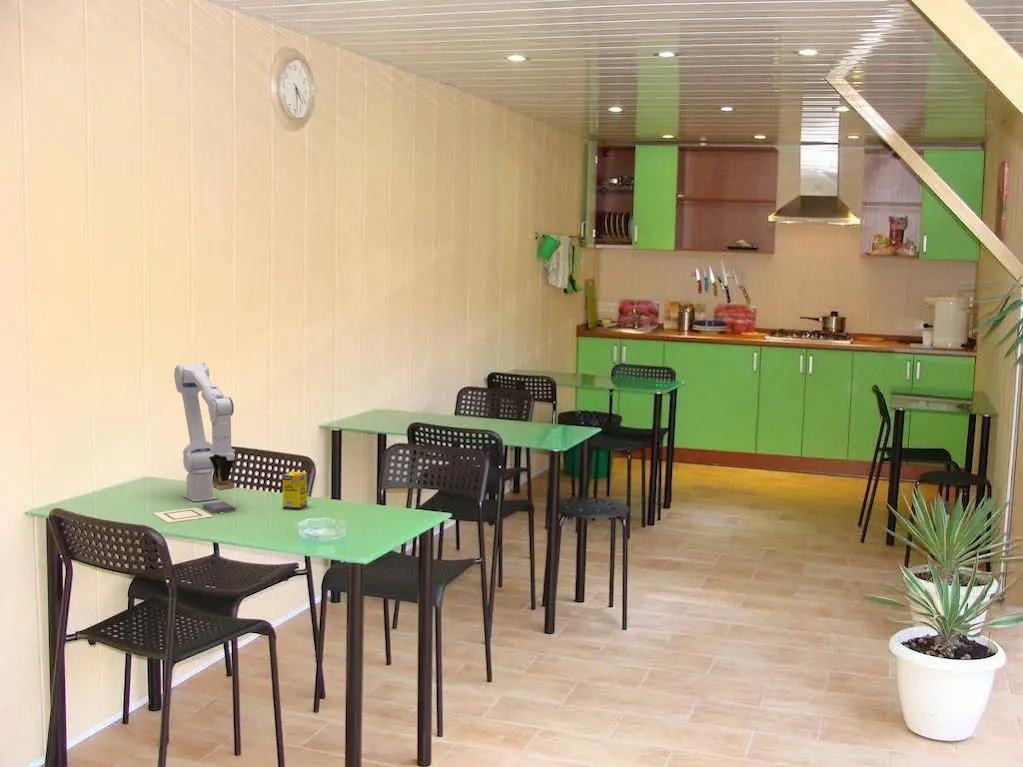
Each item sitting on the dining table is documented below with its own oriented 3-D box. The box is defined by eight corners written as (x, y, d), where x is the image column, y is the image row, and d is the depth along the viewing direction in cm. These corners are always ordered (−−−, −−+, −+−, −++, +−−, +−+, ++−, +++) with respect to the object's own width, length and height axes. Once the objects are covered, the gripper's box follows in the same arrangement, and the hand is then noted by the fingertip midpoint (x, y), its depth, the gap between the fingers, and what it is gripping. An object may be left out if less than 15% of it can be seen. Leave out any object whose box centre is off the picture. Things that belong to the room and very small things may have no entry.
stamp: (213, 487, 356) (212, 465, 355) (228, 485, 359) (227, 463, 358) (219, 490, 352) (218, 468, 351) (234, 488, 355) (233, 465, 354)
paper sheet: (152, 513, 349) (152, 512, 349) (196, 508, 357) (196, 507, 357) (167, 523, 338) (167, 522, 338) (213, 516, 346) (213, 515, 346)
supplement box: (300, 510, 356) (300, 475, 355) (282, 509, 357) (282, 474, 356) (307, 506, 362) (307, 472, 361) (289, 505, 363) (289, 471, 362)
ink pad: (203, 508, 357) (203, 503, 357) (224, 505, 361) (224, 500, 361) (213, 514, 350) (213, 509, 350) (235, 511, 354) (235, 506, 354)
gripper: (243, 438, 350) (244, 482, 352) (224, 432, 362) (225, 474, 363) (221, 440, 346) (222, 484, 348) (203, 434, 358) (204, 476, 359)
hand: (222, 479), depth 355 cm, fingers closed on stamp, 3 cm apart
